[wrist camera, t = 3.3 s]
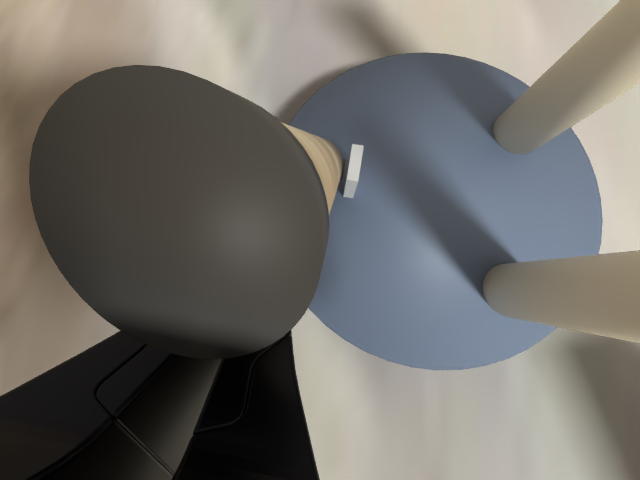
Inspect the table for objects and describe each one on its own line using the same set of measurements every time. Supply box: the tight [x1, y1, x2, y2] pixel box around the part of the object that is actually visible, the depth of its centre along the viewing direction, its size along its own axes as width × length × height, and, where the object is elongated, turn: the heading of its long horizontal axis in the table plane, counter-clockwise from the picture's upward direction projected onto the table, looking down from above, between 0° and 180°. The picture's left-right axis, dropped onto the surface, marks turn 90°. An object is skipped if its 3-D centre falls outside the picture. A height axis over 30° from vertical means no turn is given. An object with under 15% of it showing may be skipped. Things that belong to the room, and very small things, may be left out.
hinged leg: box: [29, 65, 346, 359], centre depth 9 cm, size 3×3×13 cm
